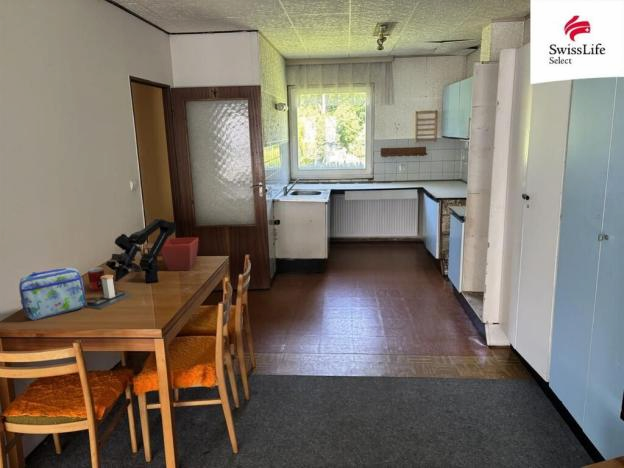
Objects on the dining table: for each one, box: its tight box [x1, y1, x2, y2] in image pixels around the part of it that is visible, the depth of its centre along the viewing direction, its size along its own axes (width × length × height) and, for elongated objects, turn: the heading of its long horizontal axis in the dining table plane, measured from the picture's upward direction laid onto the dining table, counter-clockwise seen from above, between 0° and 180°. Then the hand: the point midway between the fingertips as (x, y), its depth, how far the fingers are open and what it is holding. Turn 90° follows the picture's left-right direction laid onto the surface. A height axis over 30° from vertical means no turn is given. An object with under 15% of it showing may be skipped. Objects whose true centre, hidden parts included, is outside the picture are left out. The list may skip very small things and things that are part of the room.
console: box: [83, 290, 133, 310], centre depth 234 cm, size 20×12×3 cm, turn 156°
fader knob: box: [100, 274, 115, 299], centre depth 234 cm, size 4×4×11 cm
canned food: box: [87, 266, 105, 292], centre depth 253 cm, size 8×8×11 cm
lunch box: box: [18, 267, 87, 321], centre depth 219 cm, size 26×11×21 cm, turn 123°
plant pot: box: [159, 237, 199, 272], centre depth 285 cm, size 19×19×17 cm
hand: (115, 281), depth 238 cm, fingers closed
